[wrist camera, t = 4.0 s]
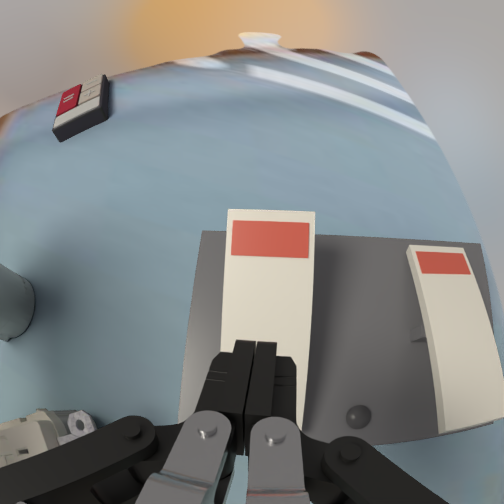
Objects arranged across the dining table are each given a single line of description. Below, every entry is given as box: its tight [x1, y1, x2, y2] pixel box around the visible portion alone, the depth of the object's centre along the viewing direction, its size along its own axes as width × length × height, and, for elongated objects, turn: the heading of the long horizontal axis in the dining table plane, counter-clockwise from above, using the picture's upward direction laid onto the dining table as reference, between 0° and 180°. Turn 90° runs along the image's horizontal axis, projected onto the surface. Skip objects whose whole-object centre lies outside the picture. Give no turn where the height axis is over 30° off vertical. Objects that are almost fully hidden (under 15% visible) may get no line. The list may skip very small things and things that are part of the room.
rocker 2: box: [406, 245, 504, 434], centre depth 19 cm, size 6×16×1 cm, turn 176°
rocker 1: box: [220, 209, 315, 430], centre depth 21 cm, size 6×16×1 cm, turn 175°
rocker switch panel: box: [178, 231, 494, 445], centre depth 26 cm, size 28×18×10 cm, turn 86°
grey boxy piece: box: [0, 409, 97, 468], centre depth 22 cm, size 12×28×10 cm, turn 115°
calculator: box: [52, 74, 109, 142], centre depth 51 cm, size 11×4×15 cm
